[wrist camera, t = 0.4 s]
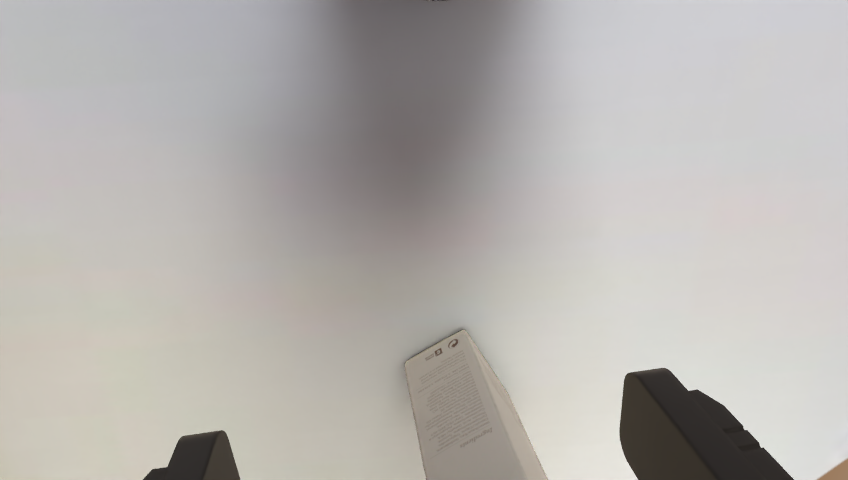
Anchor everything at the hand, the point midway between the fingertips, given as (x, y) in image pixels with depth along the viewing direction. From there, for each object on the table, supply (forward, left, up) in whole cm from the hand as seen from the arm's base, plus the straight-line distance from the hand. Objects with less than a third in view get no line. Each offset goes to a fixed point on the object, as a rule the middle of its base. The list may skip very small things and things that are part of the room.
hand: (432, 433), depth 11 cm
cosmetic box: (+12, +3, -17) cm, 21 cm away
